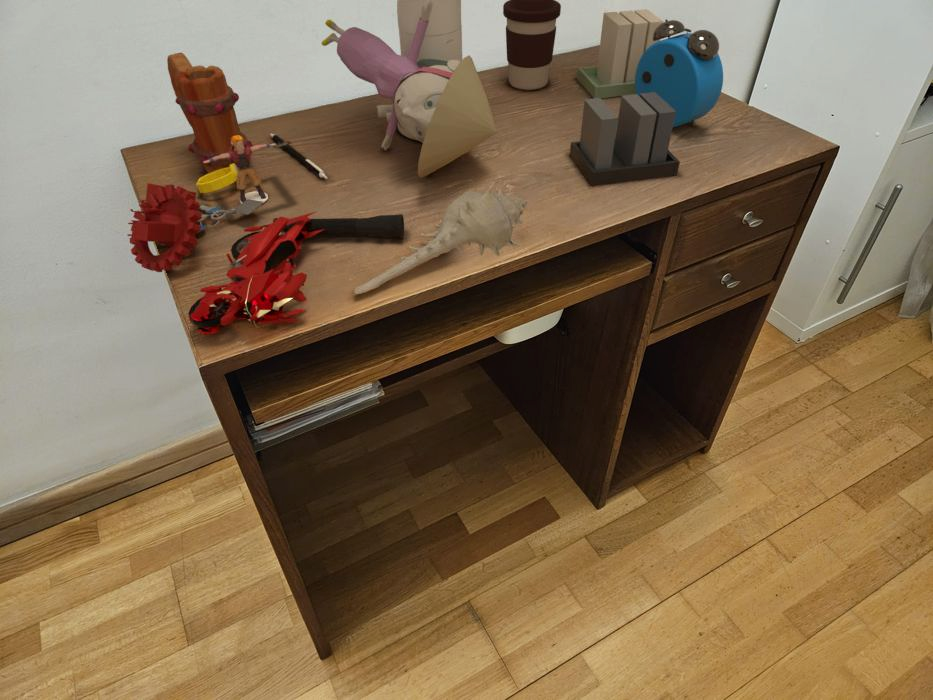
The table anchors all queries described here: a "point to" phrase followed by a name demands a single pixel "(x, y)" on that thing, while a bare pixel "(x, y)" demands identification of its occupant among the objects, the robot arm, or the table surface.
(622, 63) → the white box
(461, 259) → the table surface
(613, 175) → the grey tray
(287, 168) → the table surface
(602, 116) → the grey books
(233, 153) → the action figure
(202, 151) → the mug
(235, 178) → the yellow curved hollow piece
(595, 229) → the table surface
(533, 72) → the coffee cup
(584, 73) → the green tray
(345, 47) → the figurine
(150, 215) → the red toothed ring
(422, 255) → the seashell
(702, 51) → the alarm clock
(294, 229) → the toy motorcycle
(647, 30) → the white books
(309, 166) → the pen
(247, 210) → the key chain
